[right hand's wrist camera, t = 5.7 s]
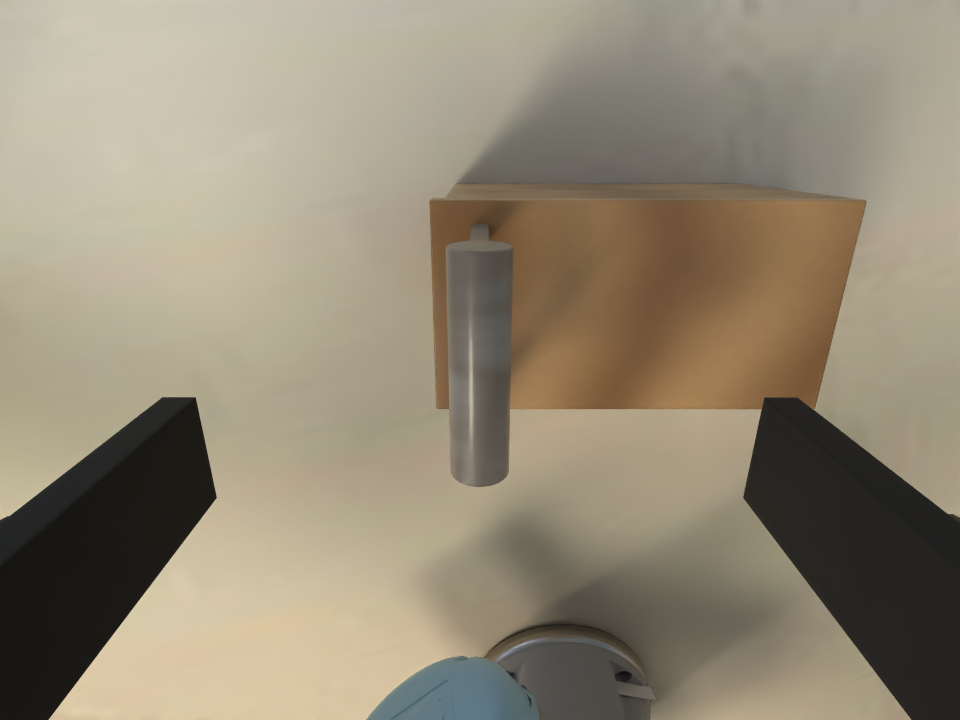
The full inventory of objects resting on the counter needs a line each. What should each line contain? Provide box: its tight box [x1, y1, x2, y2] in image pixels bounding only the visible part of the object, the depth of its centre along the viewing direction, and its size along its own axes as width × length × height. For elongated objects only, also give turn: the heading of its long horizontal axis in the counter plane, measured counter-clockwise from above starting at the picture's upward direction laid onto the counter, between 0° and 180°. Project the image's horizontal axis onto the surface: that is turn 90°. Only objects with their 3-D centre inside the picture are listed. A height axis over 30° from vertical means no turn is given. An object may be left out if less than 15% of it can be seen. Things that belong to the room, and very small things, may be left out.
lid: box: [430, 198, 866, 487], centre depth 20 cm, size 18×9×8 cm, turn 90°
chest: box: [446, 184, 844, 198], centre depth 29 cm, size 17×9×11 cm, turn 90°
